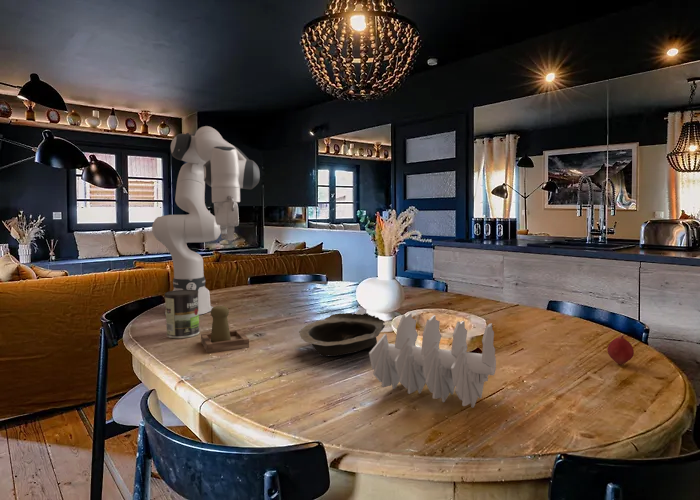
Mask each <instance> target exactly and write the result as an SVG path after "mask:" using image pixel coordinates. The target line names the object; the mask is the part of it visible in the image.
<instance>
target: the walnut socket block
mask: <svg viewBox="0 0 700 500" xmlns="http://www.w3.org/2000/svg"><path fill="white" fill-rule="evenodd" d="M229 331H230V337H231V340H227V341H220V342H211V332H210V333H201V334H200V343H201V345H202V346H203V349H205V352H206V353H207V354H212V353H219V352H225V351H233V350H242V349H248V348H250V339H249V337H248V336H247V335H246V334H245V333H244V332H243V331H242V330H241V329H233V330H229Z"/></svg>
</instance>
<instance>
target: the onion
mask: <svg viewBox="0 0 700 500" xmlns="http://www.w3.org/2000/svg"><path fill="white" fill-rule="evenodd" d="M634 352H635V351H634V347H633V346H632V344H631V342H630V341H629V340H627V339H625V335H623V334H621V335H619V336H618V337H616V338H614V339H612V340H611V342H610V343H609V344H608V346H607V354H608V356H609V357H610V358H611V359H612V360H613V362H615V363H616V364H617V365H619V364H620V365H619V366H623V365H624V364H627V362H628V361H630V360H632V359H633V357H634V356H635V355H634ZM622 364H623V365H622Z"/></svg>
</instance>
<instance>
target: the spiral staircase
mask: <svg viewBox="0 0 700 500" xmlns="http://www.w3.org/2000/svg"><path fill="white" fill-rule="evenodd" d="M465 322H466V321H465V320H462V321H459V320H458V321H456V325H455V327H454V329H453V330H454V331H453V333H452V343H451V349H443V348H442V349H441V348H440V343H441V339H442V334H441V332H440V323H441V322H440V321H439V320H438V319H436V315H435V314H433V315H431V317H430V318H429V319H427V320H426V323H425V325H424V329H423V332H422V340H421V341H422V342H421V346H417V345H416V343H417V340H418V338H419V335H418V332H417V329H416V326H417V325H416V324H417V319H415V318H413V315H412V312H409V313H407V314H406V315H404V314H403V315H402V316H401V318H400V321H399V322H398V326H397V328H396V333H395V334H396V336H395V342H394V343H389V340H388V336H387V333H383V335H382V336H381V338H379V340H377V344H376V345H375V346H374V348H373V349H372V350H371V351H369V352H368V356H369V360H370V364H371V365H370V366H371V369H372V370H373V373H372V375H373V376H374V378H376V380H378V382H379V383H381V388H386V387H390V386H392V387H391V388H392V389H393V390H395V389H396V388H397V386H398V385H399V383H400V384H401V385H402V386H403V388H405V389H407V394H408V395H410V394H412V393H414V392H416V391H417V393H418V394H421V393H422V391H423V389H424V387H425V384H426V387H427V388H428V391H429V392H430V393H432V398H431V399H434V400H435V399H436V400H437V399H441V403H445V402H446V400H447V399H448V397H449V395H450V396H453V395H454V393H455V394H456V397H458V399H459V401H462V402H461V403H462V404H461V406H463V407H466V406H469V405H470V408H474V407H475V406H476V404H477V401H478V399H482V397H483V391H484V384H485V382H488V381H489V376H495V374H496V370H497V359H496V348H495V347H494V340H495V339H494V336H495V331H494V330H493V323H489V324H487V325H485V328H484V330H483V331H484V332H483V336H482V339H481V342H482V352H481V353H479V352H478V353H477V352H469V351H468V344H467V335H468V329H467V328H466V327H465V326H466V325H465V324H466V323H465Z"/></svg>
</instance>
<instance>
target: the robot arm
mask: <svg viewBox="0 0 700 500" xmlns="http://www.w3.org/2000/svg"><path fill="white" fill-rule="evenodd" d="M170 154H171V156H172V157H173V158H175V159H176V160H179V161H183V162H185V163H184V164H183V165H182V166H181V167H180V170H179V172H178V175H177V179H176V180H177V181H176V189H175V198H174V199H175V204H176V206H177V207H179V209H181V210H182V211H184V212H186V214H167V215H166V214H165V215H161V216H158V217H156V218H155V219H154V221H153V223H152V224H151V225H152V226H151V231H152V235H153V237H154V238H155V239H156V240H157V241H158V242H160V243H161V244H162V245H163V246H164V247H165V248H166V249H167V250H168V252H169V254H170V256H171V258H172V265H173V279H172V286H173V290H172V291H175V290H197V291H198V309H199V316H200V315H203V314H207V313H209V312H211V310H212V308H213V307H214V306H212V305H211V296H210V290H209V289H208V288H207V287H206V277H205V275H204V273H205V271H204V270H205V269H204V259H203V257H202V255H201V254H199V253H198V252H196V251H194V250H191V249H190V247H188V245H187V244H188V243H209V242H213V241H216V240H218V239H219V238H220V237H221V239H223V240H227V241H229V242H230V241H234V239H235V238H234V236H235V235H234V234H235V228H236V227H238V226H239V224H240V219H239V218H240V217H239V206H238V204H239V203H240V202H241V189H244V190H253V189H254V188H255V187H256V186H257V185H258V184H259V182H260V179H261V178H260V177H261V173H260V168H259V166H258V164H257V163H256V162H255V161H254V160H252V159H249V157H247V155H246V154H245V153H244V152H243V151H242V150H241V149H239V148H238V147H237V146H235V145H233V144H231V143H229V142H228V141H227V140H226V139H224V138H223V136H222V135H221V134H220V132H219V131H218V130H217V129H215V128H213V127H212V126H208V125H205V126H201V127H199V128H198V129H197V130H196V131H195V134H194V135H192V134H189V132H187V133H177V134H176V135H175V136H174V137H173V139H172V140H171V143H170ZM206 185H208V186H209V187H211V203H212V204H213V210H214V211H213V212H214V215H213V213H211V212H210V210H208V208H207V206H206V203H205V202H206V199H205V197H206V196H205V193H206ZM187 213H188V214H187ZM220 235H221V236H220ZM164 315H165V316H166V311H165V312H164Z"/></svg>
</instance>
